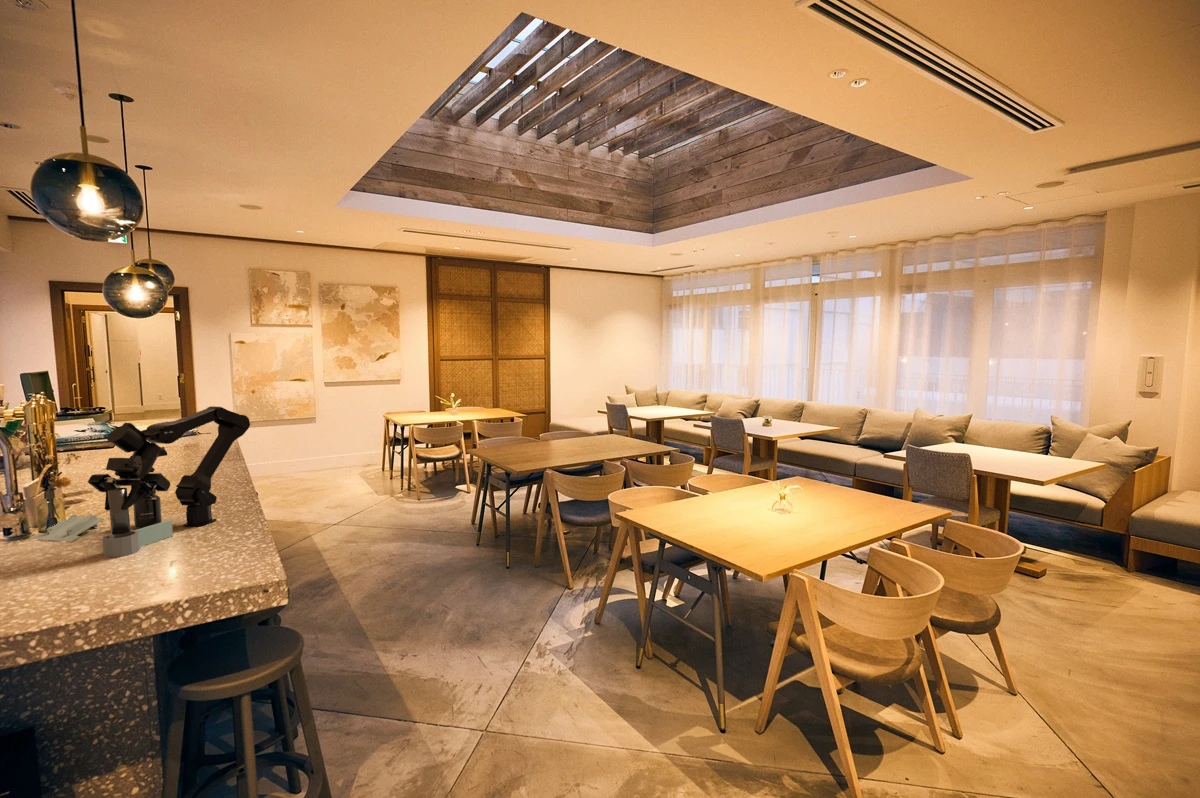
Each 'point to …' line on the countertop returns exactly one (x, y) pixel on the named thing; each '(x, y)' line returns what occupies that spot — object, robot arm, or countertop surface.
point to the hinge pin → (118, 511)
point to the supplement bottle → (147, 511)
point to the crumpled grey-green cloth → (69, 528)
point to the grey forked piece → (135, 539)
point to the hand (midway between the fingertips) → (115, 509)
